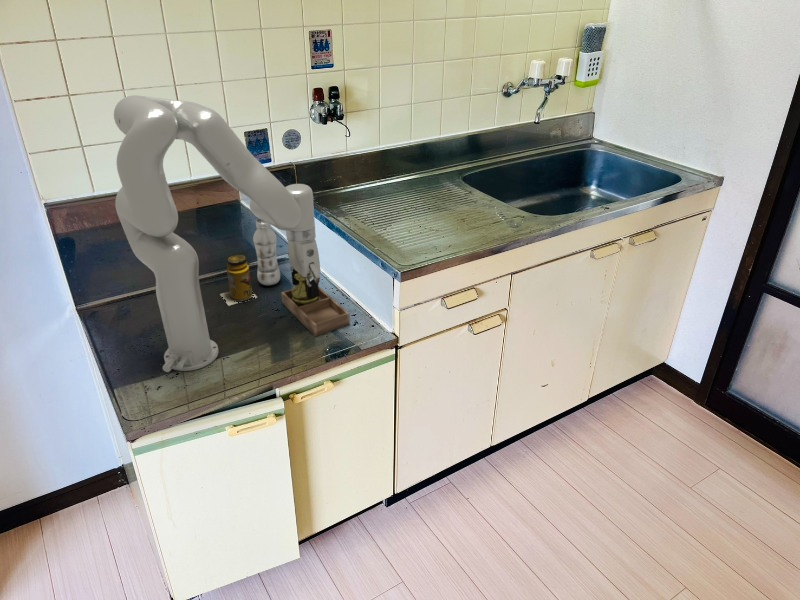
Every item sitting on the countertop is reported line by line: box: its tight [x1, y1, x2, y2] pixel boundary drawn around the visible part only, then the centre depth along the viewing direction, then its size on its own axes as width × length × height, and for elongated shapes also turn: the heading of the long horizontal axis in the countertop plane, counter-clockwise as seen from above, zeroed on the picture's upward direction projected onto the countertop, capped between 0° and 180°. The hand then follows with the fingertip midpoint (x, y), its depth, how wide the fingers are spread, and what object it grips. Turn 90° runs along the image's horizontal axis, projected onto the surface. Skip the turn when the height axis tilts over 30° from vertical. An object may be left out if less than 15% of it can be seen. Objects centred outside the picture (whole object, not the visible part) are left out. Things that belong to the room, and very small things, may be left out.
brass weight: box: [290, 272, 319, 307], centre depth 164 cm, size 7×7×10 cm
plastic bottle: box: [252, 218, 281, 287], centre depth 173 cm, size 6×7×20 cm
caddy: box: [280, 285, 351, 337], centre depth 163 cm, size 20×10×4 cm, turn 35°
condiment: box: [219, 254, 258, 307], centre depth 168 cm, size 7×8×12 cm
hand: (305, 290), depth 164 cm, fingers open, 8 cm apart
